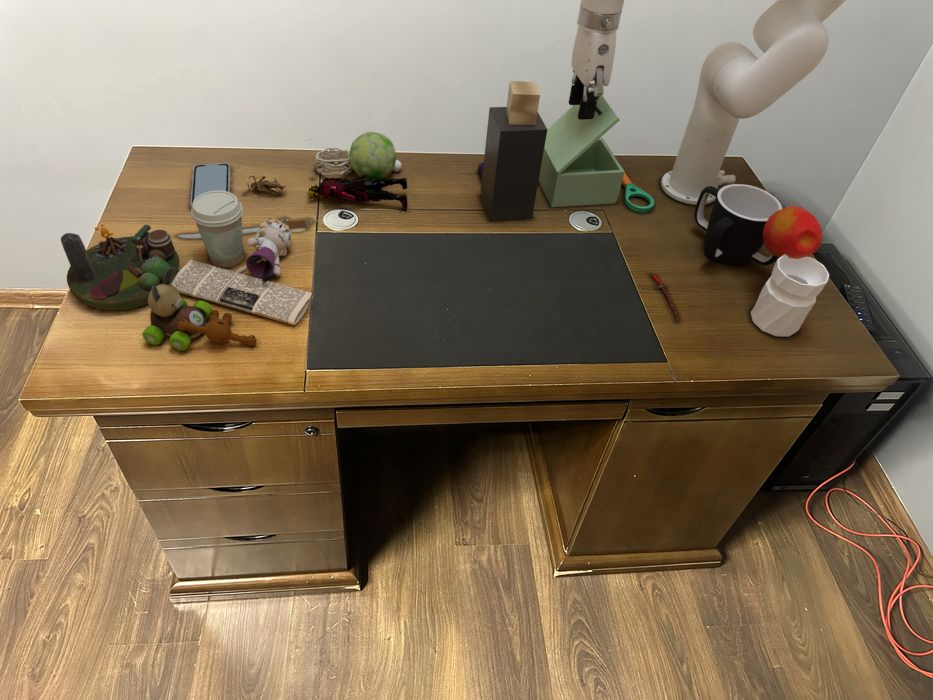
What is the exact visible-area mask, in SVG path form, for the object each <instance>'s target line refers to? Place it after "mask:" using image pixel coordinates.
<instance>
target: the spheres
mask: <svg viewBox="0 0 933 700" xmlns="http://www.w3.org/2000/svg"><path fill="white" fill-rule="evenodd" d="M402 166H403V165H402V162H401V161H400V160H399V159H396V163H395V167H394V169H393V171H392V172H394V173H395V172H396V173H398V172H400V171H401V170H402Z"/></svg>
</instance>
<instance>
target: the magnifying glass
mask: <svg viewBox="0 0 933 700" xmlns="http://www.w3.org/2000/svg"><path fill="white" fill-rule="evenodd" d="M621 185H622V186H623V188H624V190H625V191H624V192H625V193H624V204H625V206H626V207H627V208H628V209H629V210H631V211H633V212H636V213H640V214H645V213H646V214H647V213H650V212H651V211H652V210H653V207H654V206H655V205H654V204H655V200H654V198H653V197H652V195H650V194H649V193H648V192H646V191H644V190H643V189H641V188H640V187H638V186H636V185H635V184H634V183H632V181H631V179H630V178H629V177H628V175H627V173H626V172H625V173H624V177H623V180H622V184H621ZM632 197H639V198H642V199H645V200H646V201H647V202H648V203H649V204H648V205H645V206H640V205H636V204H634V203H632V202H631V201H630V200H629V199H630V198H632Z"/></svg>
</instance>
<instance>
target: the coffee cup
mask: <svg viewBox="0 0 933 700" xmlns="http://www.w3.org/2000/svg"><path fill="white" fill-rule="evenodd" d="M190 208H191V207H190ZM243 212H244V207H243V206H242V203H241V201H239V198H238V197H237V196H236V195H235V194H234V193H232V192H231V191H230V192H227V191H220V190H216V191H209V192H205V193H203V194H201V195H199V196H197V197H196V198H195V199H194V201H193V203H192V208H191V209H190V216H191V219H192V220H193V221H194V222H195V225H196V228H197V229H198V232H199V234H200V235H201V237H202V239H201V240H202V242H203V244H204V247H205V250H206V251H207V254H208V257H209V259H210V262H211V263H212V264H213V266H215V267H219V268H233V267H236V266H237V265H239V264H240V263H242V262H243V260H244V258H245V257H244V256H245V255H244V254H245V253H244V252H245V251H244V234H243V232H242V229H243V218H242V217H243V216H242V215H243Z"/></svg>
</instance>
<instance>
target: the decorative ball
mask: <svg viewBox="0 0 933 700" xmlns="http://www.w3.org/2000/svg"><path fill="white" fill-rule="evenodd" d="M348 151H349V159H350V164H351V167H352V169H353V171H354V172H355V174H357V176H358V177H361V176H364V175H365V174H366V177H365V178H363V179H366V180H365V181H377V180H378V179H382V178H388V177H389V175H391V173H392V172H394V171H393V169H394V167H395V163H396V160H397V152H396V148H395V146H394V143H393V141H392V140H391V139H390V138H389V137H388V136H386V135H385V134H383V133H379V132H375V131H367V132H363V133H361V134H360V135H359V136H358V137H356V138H355V139H354V140H353V141H352V142H351V146H350V148H349V150H348Z"/></svg>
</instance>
